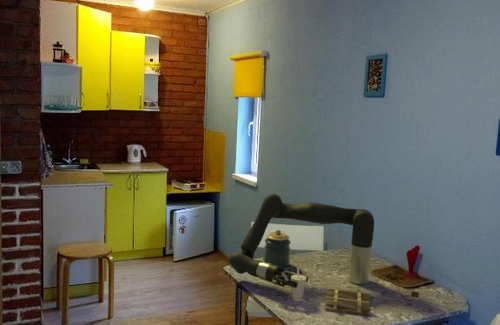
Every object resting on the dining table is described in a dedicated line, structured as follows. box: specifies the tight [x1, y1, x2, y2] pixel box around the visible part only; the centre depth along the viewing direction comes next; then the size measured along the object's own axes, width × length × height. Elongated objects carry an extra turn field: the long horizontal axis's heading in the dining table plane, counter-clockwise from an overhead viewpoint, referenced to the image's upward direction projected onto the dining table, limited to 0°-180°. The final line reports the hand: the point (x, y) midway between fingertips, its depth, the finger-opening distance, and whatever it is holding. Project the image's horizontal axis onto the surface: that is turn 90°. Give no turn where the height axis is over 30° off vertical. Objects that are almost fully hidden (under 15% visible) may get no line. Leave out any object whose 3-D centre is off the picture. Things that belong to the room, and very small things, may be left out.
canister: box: [263, 229, 291, 269], centre depth 239 cm, size 13×13×18 cm
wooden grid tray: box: [324, 285, 371, 317], centre depth 195 cm, size 17×17×4 cm
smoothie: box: [291, 266, 307, 303], centre depth 197 cm, size 6×6×14 cm
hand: (302, 282), depth 195 cm, fingers open, 8 cm apart
